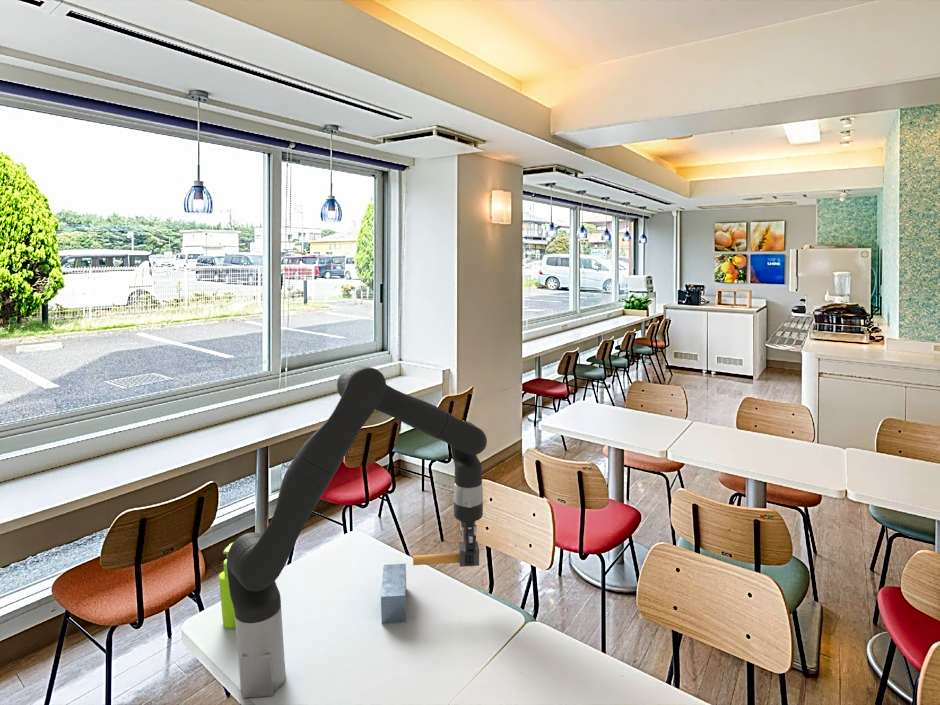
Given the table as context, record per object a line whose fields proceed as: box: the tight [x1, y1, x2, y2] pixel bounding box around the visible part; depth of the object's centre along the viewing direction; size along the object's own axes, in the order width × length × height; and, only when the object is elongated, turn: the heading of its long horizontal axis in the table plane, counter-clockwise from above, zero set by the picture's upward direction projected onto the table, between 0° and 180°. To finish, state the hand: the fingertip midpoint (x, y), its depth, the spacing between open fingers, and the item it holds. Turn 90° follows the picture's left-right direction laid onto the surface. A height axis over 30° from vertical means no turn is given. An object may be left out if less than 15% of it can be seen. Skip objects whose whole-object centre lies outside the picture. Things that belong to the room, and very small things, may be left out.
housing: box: [380, 563, 407, 625], centre depth 149 cm, size 14×6×8 cm, turn 6°
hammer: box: [412, 540, 480, 568], centre depth 149 cm, size 4×17×4 cm, turn 96°
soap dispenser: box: [218, 541, 236, 630], centre depth 142 cm, size 6×7×20 cm
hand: (468, 559), depth 150 cm, fingers closed on hammer, 4 cm apart
